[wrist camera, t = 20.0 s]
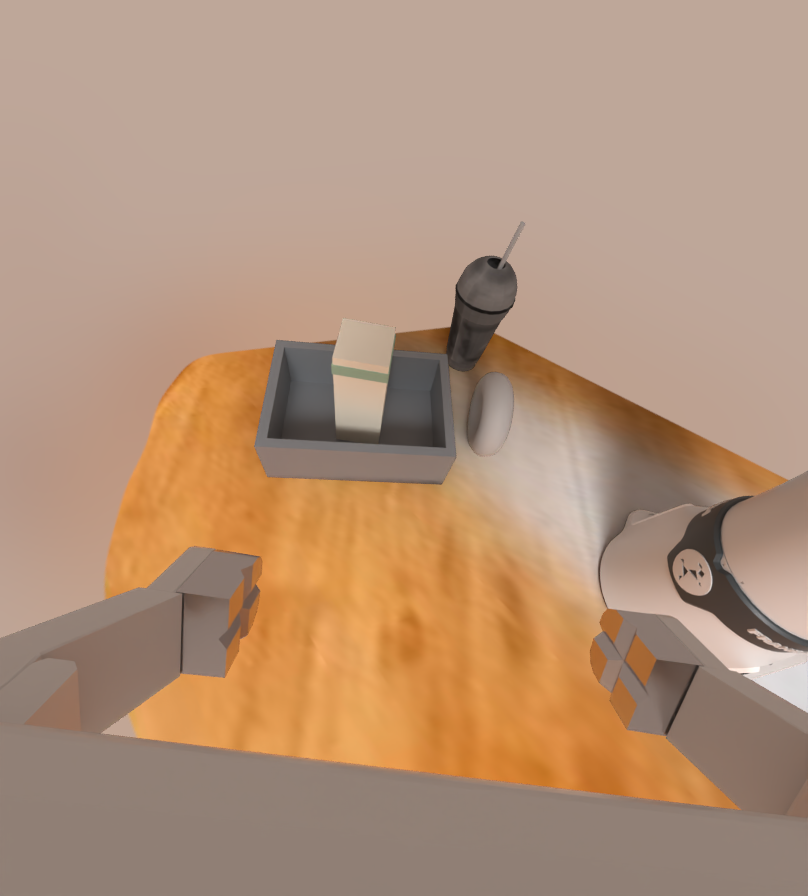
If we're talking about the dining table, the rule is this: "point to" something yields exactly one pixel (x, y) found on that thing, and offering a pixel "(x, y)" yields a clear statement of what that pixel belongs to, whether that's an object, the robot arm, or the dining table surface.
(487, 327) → the beverage cup
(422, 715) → the dining table surface
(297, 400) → the box
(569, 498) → the dining table surface
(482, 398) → the donut
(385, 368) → the juice carton
